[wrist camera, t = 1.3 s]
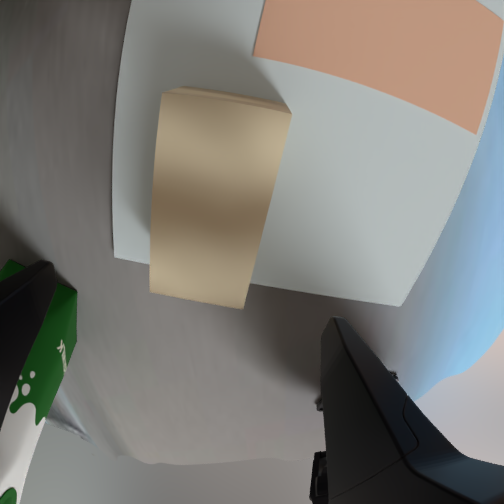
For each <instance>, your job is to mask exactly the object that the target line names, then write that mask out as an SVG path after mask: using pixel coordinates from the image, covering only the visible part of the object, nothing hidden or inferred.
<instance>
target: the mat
mask: <svg viewBox="0 0 504 504" xmlns="http://www.w3.org/2000/svg"><path fill="white" fill-rule="evenodd" d="M503 54H504V0H132V2H131V6H130V11H129V16H128V21H127V27H126V32H125V38H124V44H123V50H122V57H121V64H120V72H119V80H118V89H117V99H116V110H115V123H114V139H113V165H112V215H113V241H114V257H116V258H121V259H126V260H130V261H135V262H140V263H145V264H150V228H151V205H152V188H153V173H154V161H155V150H156V139H157V130H158V121H159V113H160V105H161V97H162V92H166V91H169V90H172V89H175V88H178V87H181V86H188V87H197V88H204V89H211V90H218V91H224V92H230V93H236V94H242V95H248V96H253V97H258V98H263V99H268V100H273V101H277V102H282V103H286V105H287V106H288V108H289V110H290V111H291V113H292V117H291V122H290V126H289V130H288V134H287V138H286V142H285V146H284V150H283V154H282V158H281V162H280V166H279V170H278V174H277V178H276V182H275V186H274V190H273V194H272V198H271V201H270V205H269V209H268V213H267V217H266V221H265V225H264V229H263V233H262V237H261V241H260V245H259V249H258V253H257V257H256V261H255V265H254V269H253V272H252V276H251V280H250V283H252V284H258V285H264V286H270V287H276V288H282V289H288V290H294V291H300V292H306V293H312V294H319V295H325V296H331V297H338V298H344V299H351V300H358V301H364V302H371V303H378V304H385V305H392V306H400V307H401V305H402V303H403V302H404V300H405V298H406V297H407V295H408V293H409V292H410V290H411V288H412V287H413V285H414V283H415V281H416V280H417V278H418V276H419V274H420V272H421V271H422V269H423V267H424V265H425V263H426V262H427V260H428V258H429V256H430V254H431V252H432V250H433V248H434V246H435V244H436V242H437V240H438V238H439V236H440V234H441V232H442V230H443V228H444V226H445V224H446V222H447V220H448V218H449V216H450V213H451V211H452V209H453V207H454V205H455V202H456V200H457V198H458V196H459V193H460V191H461V189H462V186H463V184H464V181H465V179H466V176H467V174H468V171H469V169H470V166H471V164H472V161H473V158H474V156H475V153H476V150H477V147H478V145H479V142H480V139H481V136H482V133H483V130H484V127H485V124H486V120H487V117H488V114H489V111H490V107H491V104H492V100H493V96H494V93H495V89H496V85H497V81H498V77H499V73H500V68H501V64H502V59H503Z"/></svg>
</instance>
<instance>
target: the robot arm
mask: <svg viewBox="0 0 504 504" xmlns="http://www.w3.org/2000/svg"><path fill="white" fill-rule="evenodd" d="M56 288H57V278H56V274H55V269H54V265H53V263H52V262H50V261H46V260H40V261H38V262H36V263H34V264H32V265H30V266H28V267H26V268H24V269H22V270H21V271H19V272H17V273H15V274H13V275H11V276H9V277H7V278H5V279H4V280H2V281H0V431H1V428H2V425H3V421H4V418H5V415H6V412H7V409H8V407H9V404H10V401H11V398H12V395H13V393H14V390H15V387H16V385H17V382H18V380H19V377H20V375H21V372H22V370H23V367H24V365H25V363H26V360H27V358H28V356H29V353H30V351H31V349H32V346H33V344H34V342H35V340H36V338H37V336H38V333H39V331H40V329H41V327H42V324H43V322H44V319H45V317H46V314H47V311H48V309H49V306H50V303H51V301H52V298H53V296H54V293H55V291H56ZM398 381H399V380H398V377H397V376H392V375H391V373H390V372H389V371H388V370H387V368H386V367H385V366H384V365H383V364H382V362H381V361H380V360H379V359H378V357H377V356H376V355H375V354H374V353H373V351H372V350H371V349H370V348H369V346H368V345H367V344H366V343H365V342H364V340H363V339H362V338H361V337H360V336H359V334H358V333H357V332H356V331H355V330H354V328H353V327H352V326H351V325H350V324H349V322H348V321H347V320H346V319H345V318H343V317H336V316H333V317H331V318H330V320H329V322H328V324H327V326H326V328H325V330H324V332H323V334H322V337H321V393H322V400H321V401H320V402H319V404H318V405H317V411H323V416H324V428H325V441H326V451H323V452H321V451H320V452H315V455H314V460H313V468H312V478H311V487H310V496H309V498H310V500H311V501H312V503H313V504H504V466H502V465H497V464H492V463H489V462H485V461H481V460H477V459H473V458H470V457H467V456H465V455H464V454H462V453H461V452H459V451H458V450H457V449H456V448H455V447H454V446H453V445H452V444H451V443H450V442H449V441H448V440H447V439H446V438H445V437H444V436H443V435H442V433H440V431H439V430H438V429H437V428H436V427H435V426H434V425H433V424H432V423H431V422H430V421H429V419H428V418H427V417H426V416H425V415H424V414H423V413H422V412H421V410H420V409H419V408H418V407H417V406H416V404H415V403H414V402H413V401H412V399H411V398H410V397H409V396H407V393H406V392H405V391H404V389H403V388H402V387H401V386H400V384H399V383H398Z"/></svg>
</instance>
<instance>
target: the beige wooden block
mask: <svg viewBox="0 0 504 504" xmlns="http://www.w3.org/2000/svg"><path fill="white" fill-rule="evenodd" d="M291 117H292V113H291V111H290V110H289V108H288V106H287V105H286V103H282V102H277V101H273V100H268V99H263V98H258V97H253V96H248V95H242V94H236V93H230V92H224V91H218V90H211V89H204V88H197V87H188V86H181V87H178V88H175V89H172V90H169V91H166V92H162V97H161V105H160V113H159V121H158V130H157V139H156V150H155V161H154V173H153V188H152V205H151V228H150V292H153V293H158V294H162V295H167V296H172V297H177V298H182V299H188V300H193V301H198V302H204V303H209V304H215V305H220V306H226V307H232V308H237V309H243V308H244V304H245V300H246V296H247V292H248V288H249V284H250V280H251V276H252V272H253V269H254V265H255V261H256V257H257V253H258V249H259V245H260V241H261V237H262V233H263V229H264V225H265V221H266V217H267V213H268V209H269V205H270V201H271V198H272V194H273V190H274V186H275V182H276V178H277V174H278V170H279V166H280V162H281V158H282V154H283V150H284V146H285V142H286V138H287V134H288V130H289V126H290V122H291Z"/></svg>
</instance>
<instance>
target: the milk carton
mask: <svg viewBox="0 0 504 504" xmlns="http://www.w3.org/2000/svg"><path fill="white" fill-rule="evenodd" d="M24 268H26V267H24V266H22V265H20V264H18V263H16V262H14V261H12V260H10V259H9V260H8V262H7V263H6V264H5V266H4V267H3V268H2V269H1V271H0V281H2V280H4V279H5V278H7V277H9V276H11V275H13V274H15V273H17V272H19V271H21V270H22V269H24ZM76 322H77V291H75V290H72V289H70V288H68V287H66V286H64V285H61V284H59V283H57V288H56V291H55V293H54V296H53V298H52V301H51V303H50V306H49V309H48V311H47V314H46V317H45V319H44V322H43V324H42V327H41V329H40V331H39V333H38V336H37V338H36V340H35V342H34V344H33V346H32V349H31V351H30V353H29V356H28V358H27V360H26V363H25V365H24V367H23V370H22V372H21V375H20V377H19V380H18V382H17V385H16V387H15V390H14V393H13V395H12V398H11V401H10V404H9V407H8V409H7V412H6V415H5V418H4V421H3V425H2V428H1V431H0V504H19V503H20V499H21V495H22V490H23V486H24V482H25V479H26V475H27V471H28V468H29V465H30V462H31V458H32V456H33V453H34V450H35V447H36V444H37V441H38V439H39V436H40V433H41V430H42V428H43V425H44V423H45V420H46V417H47V415H48V412H49V410H50V407H51V405H52V402H53V400H54V398H55V395H56V393H57V391H58V388H59V386H60V383H61V381H62V379H63V376H64V374H65V371H66V369H67V366H68V363H69V360H70V358H71V355H72V352H73V349H74V347H75V344H76V342H77V335H76Z"/></svg>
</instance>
